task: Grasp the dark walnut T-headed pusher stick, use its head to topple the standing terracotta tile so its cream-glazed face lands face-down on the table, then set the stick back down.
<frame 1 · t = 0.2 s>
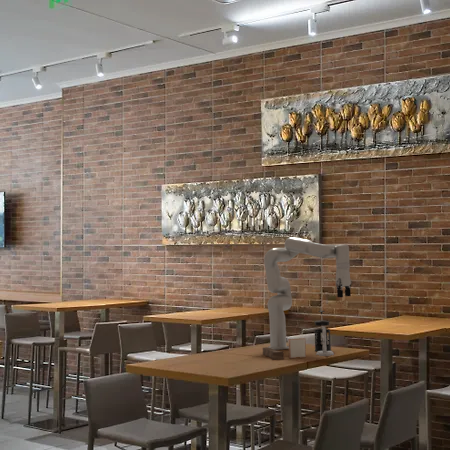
hand: (344, 296, 420), 31 cm above the table, tool pointing down, fingers open, 9 cm apart
french press: (322, 351, 427), on the table
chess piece: (324, 355, 411), on the table
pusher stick: (271, 356, 409), on the table
tile: (297, 357, 404), on the table
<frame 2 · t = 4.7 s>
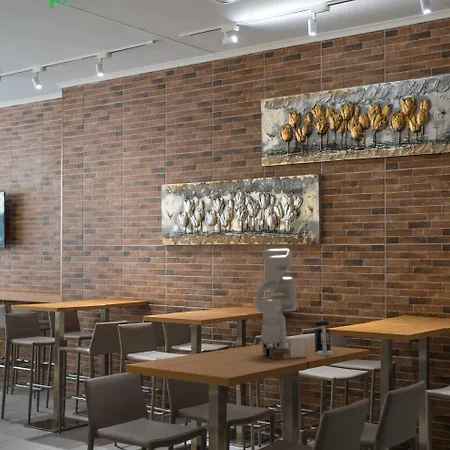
hand: (271, 355, 409), 1 cm above the table, tool pointing down, fingers closed on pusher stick, 2 cm apart
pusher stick: (271, 355, 410), on the table, touching gripper
everything else where it was.
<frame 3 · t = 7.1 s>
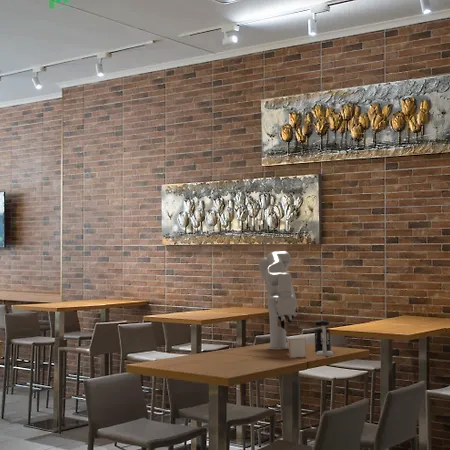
hand: (286, 327, 421), 15 cm above the table, tool pointing down, fingers closed on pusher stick, 3 cm apart
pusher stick: (285, 328, 421), point 14 cm above the table, tilted 5°, touching gripper
everything else where it was.
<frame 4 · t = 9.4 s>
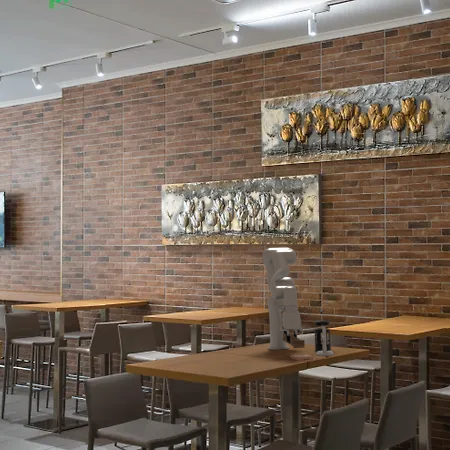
hand: (291, 342, 412), 7 cm above the table, tool pointing down, fingers closed on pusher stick, 3 cm apart
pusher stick: (291, 343, 412), point 6 cm above the table, tilted 5°, touching gripper
tile: (298, 356, 402), point 1 cm above the table, tilted 90°
everything else where it was.
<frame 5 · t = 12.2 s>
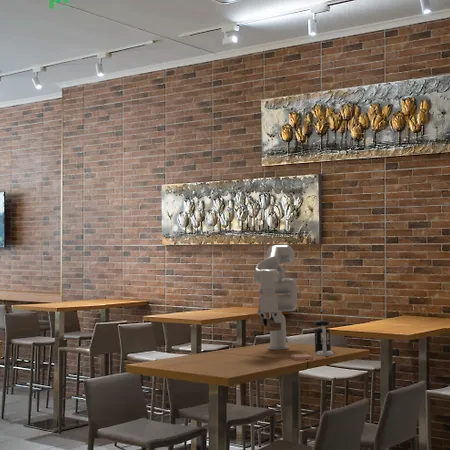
hand: (268, 325, 413), 17 cm above the table, tool pointing down, fingers closed on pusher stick, 3 cm apart
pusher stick: (268, 326, 413), point 16 cm above the table, tilted 5°, touching gripper
everything else where it was.
when the fingers open (2 cm above the table, at t = 14.6 s): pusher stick drops 1 cm, on the table.
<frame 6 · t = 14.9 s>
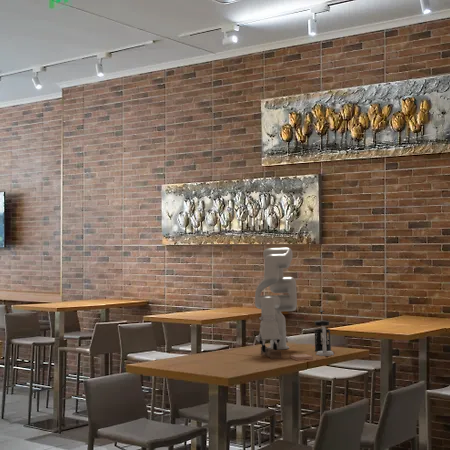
hand: (269, 351, 412), 2 cm above the table, tool pointing down, fingers open, 5 cm apart
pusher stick: (269, 356, 413), on the table
everything else where it was.
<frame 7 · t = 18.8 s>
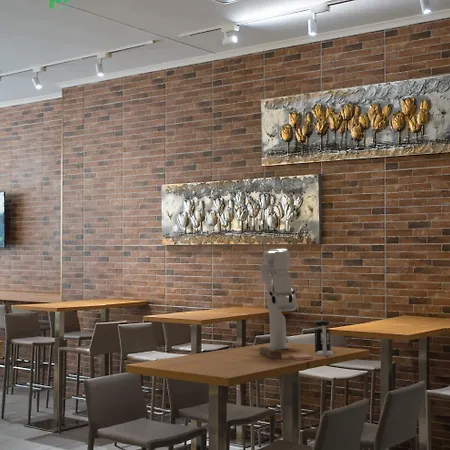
hand: (282, 303, 424), 28 cm above the table, tool pointing down, fingers open, 9 cm apart
nothing on the table moved.
at the end: tile tilted 90°; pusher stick inside the target area (0.5 cm from its centre), on the table; the gripper is holding nothing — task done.
